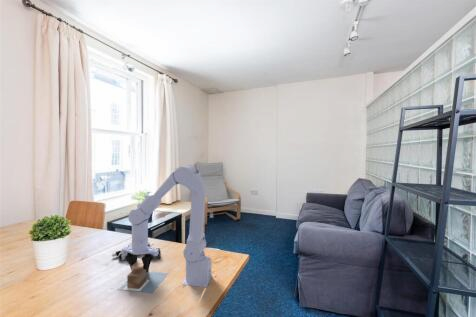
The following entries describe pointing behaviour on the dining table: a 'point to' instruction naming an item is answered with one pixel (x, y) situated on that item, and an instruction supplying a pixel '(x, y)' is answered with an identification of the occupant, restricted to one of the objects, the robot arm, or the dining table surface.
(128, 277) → the walnut block
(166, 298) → the dining table surface
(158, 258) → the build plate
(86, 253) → the dining table surface
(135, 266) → the terracotta block
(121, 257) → the robot toy
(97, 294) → the dining table surface
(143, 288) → the plate
